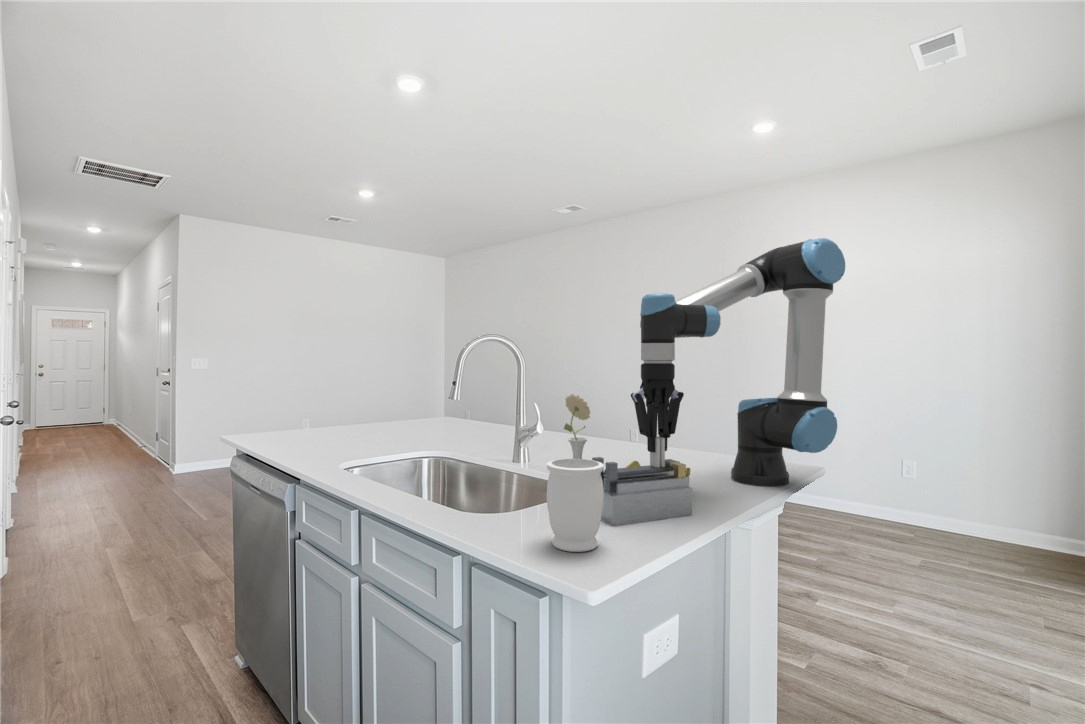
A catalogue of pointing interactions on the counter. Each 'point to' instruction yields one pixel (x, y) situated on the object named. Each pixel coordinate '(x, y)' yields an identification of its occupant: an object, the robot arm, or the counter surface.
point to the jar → (575, 503)
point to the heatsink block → (645, 495)
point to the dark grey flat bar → (645, 469)
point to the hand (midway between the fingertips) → (657, 465)
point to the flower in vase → (582, 412)
